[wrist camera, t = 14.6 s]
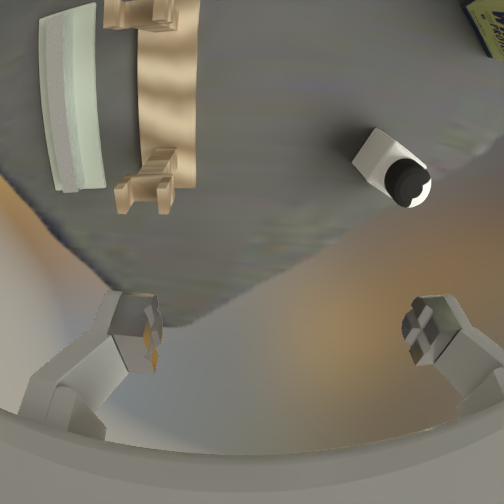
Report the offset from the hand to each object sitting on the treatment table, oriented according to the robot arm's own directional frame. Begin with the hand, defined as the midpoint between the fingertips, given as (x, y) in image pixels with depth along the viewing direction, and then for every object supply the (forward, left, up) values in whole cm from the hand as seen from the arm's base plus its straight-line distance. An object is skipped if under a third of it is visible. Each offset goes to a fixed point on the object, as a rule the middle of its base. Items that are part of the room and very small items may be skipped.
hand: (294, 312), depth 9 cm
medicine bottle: (+6, +20, -37) cm, 43 cm away
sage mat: (-2, -28, -37) cm, 46 cm away
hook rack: (-2, -12, -37) cm, 39 cm away
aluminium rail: (-2, -28, -36) cm, 46 cm away
